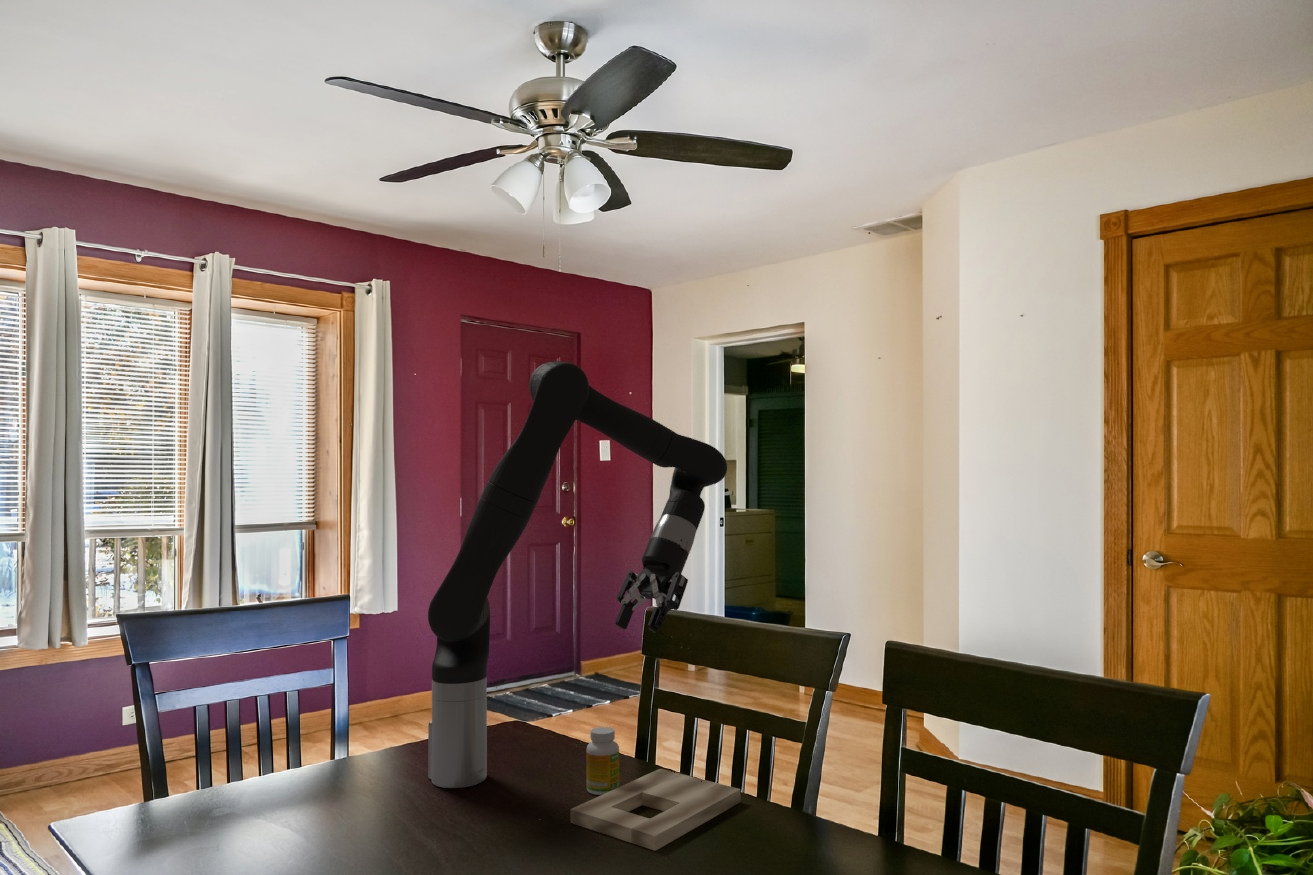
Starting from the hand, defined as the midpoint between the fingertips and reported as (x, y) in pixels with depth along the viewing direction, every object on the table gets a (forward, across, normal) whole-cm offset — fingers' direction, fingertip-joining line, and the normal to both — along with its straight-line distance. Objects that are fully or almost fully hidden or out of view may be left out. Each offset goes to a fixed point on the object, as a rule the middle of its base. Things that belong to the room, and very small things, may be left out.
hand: (636, 628), depth 146 cm
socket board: (+26, +11, +9) cm, 29 cm away
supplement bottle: (+25, -2, +8) cm, 27 cm away
